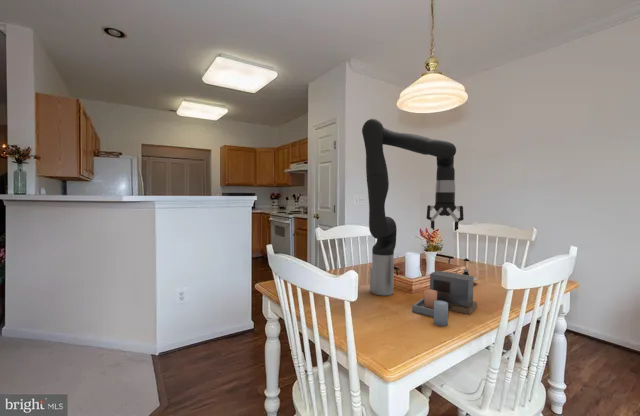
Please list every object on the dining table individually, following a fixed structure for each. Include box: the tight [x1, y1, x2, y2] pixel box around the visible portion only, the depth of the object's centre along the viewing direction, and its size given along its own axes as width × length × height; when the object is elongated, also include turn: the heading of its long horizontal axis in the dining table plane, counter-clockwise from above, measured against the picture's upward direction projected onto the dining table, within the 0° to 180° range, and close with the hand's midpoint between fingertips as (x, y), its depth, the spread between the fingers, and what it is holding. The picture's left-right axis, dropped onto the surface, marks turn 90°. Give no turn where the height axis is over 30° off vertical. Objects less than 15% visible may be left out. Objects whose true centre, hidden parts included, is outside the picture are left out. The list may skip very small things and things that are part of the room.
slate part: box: [433, 300, 449, 327], centre depth 103 cm, size 4×4×7 cm
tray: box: [411, 298, 434, 318], centre depth 113 cm, size 10×10×2 cm
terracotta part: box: [423, 288, 437, 310], centre depth 113 cm, size 4×4×7 cm
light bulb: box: [462, 258, 478, 284], centre depth 149 cm, size 12×10×10 cm
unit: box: [429, 270, 478, 316], centre depth 119 cm, size 16×10×12 cm, turn 50°
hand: (444, 230), depth 129 cm, fingers open, 8 cm apart
